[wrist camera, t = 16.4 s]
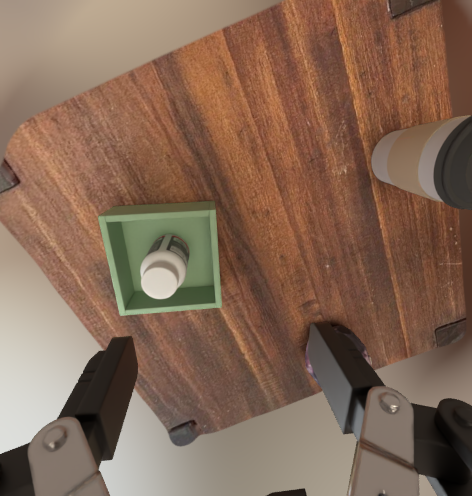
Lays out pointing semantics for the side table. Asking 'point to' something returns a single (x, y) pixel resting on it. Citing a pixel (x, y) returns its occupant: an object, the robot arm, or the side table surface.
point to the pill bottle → (164, 266)
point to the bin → (140, 241)
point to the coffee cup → (429, 160)
